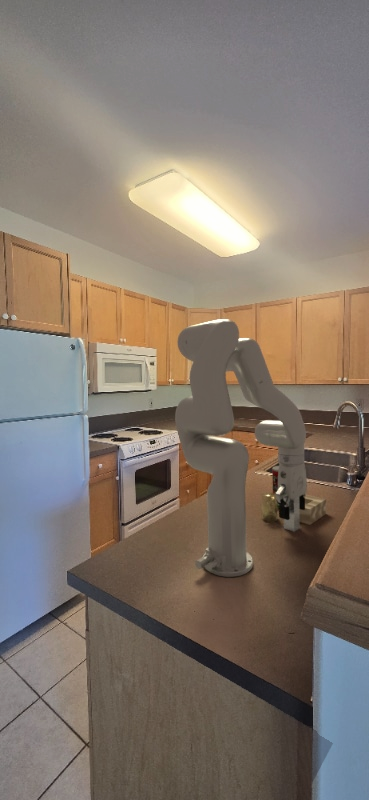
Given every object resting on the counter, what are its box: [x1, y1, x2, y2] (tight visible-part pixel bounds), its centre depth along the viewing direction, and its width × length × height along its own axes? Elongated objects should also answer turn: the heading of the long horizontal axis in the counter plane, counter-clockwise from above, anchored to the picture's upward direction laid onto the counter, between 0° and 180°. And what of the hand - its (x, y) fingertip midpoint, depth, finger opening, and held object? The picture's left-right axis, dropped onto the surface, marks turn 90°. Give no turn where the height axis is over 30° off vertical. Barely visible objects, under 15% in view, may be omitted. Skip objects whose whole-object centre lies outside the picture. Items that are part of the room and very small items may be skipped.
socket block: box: [299, 494, 327, 526], centre depth 112 cm, size 12×10×5 cm
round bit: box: [260, 491, 278, 523], centre depth 110 cm, size 5×5×8 cm
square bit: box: [283, 495, 301, 533], centre depth 102 cm, size 3×3×10 cm
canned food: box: [271, 465, 279, 494], centre depth 131 cm, size 8×8×11 cm
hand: (292, 513), depth 102 cm, fingers open, 9 cm apart
